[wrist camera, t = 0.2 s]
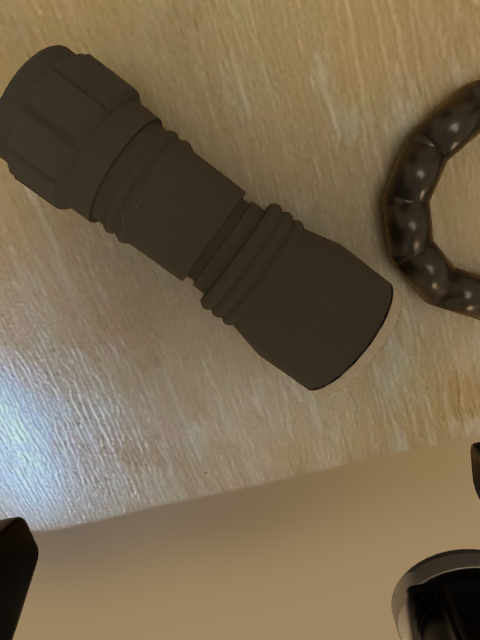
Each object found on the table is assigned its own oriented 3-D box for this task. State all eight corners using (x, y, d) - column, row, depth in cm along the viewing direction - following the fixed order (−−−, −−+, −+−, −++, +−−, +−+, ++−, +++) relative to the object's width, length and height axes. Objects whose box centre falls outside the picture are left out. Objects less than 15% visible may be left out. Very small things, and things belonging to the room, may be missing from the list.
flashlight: (29, 164, 20) (-55, 163, 15) (90, 48, 18) (21, 2, 13) (306, 361, 22) (318, 421, 17) (382, 274, 20) (420, 311, 15)
